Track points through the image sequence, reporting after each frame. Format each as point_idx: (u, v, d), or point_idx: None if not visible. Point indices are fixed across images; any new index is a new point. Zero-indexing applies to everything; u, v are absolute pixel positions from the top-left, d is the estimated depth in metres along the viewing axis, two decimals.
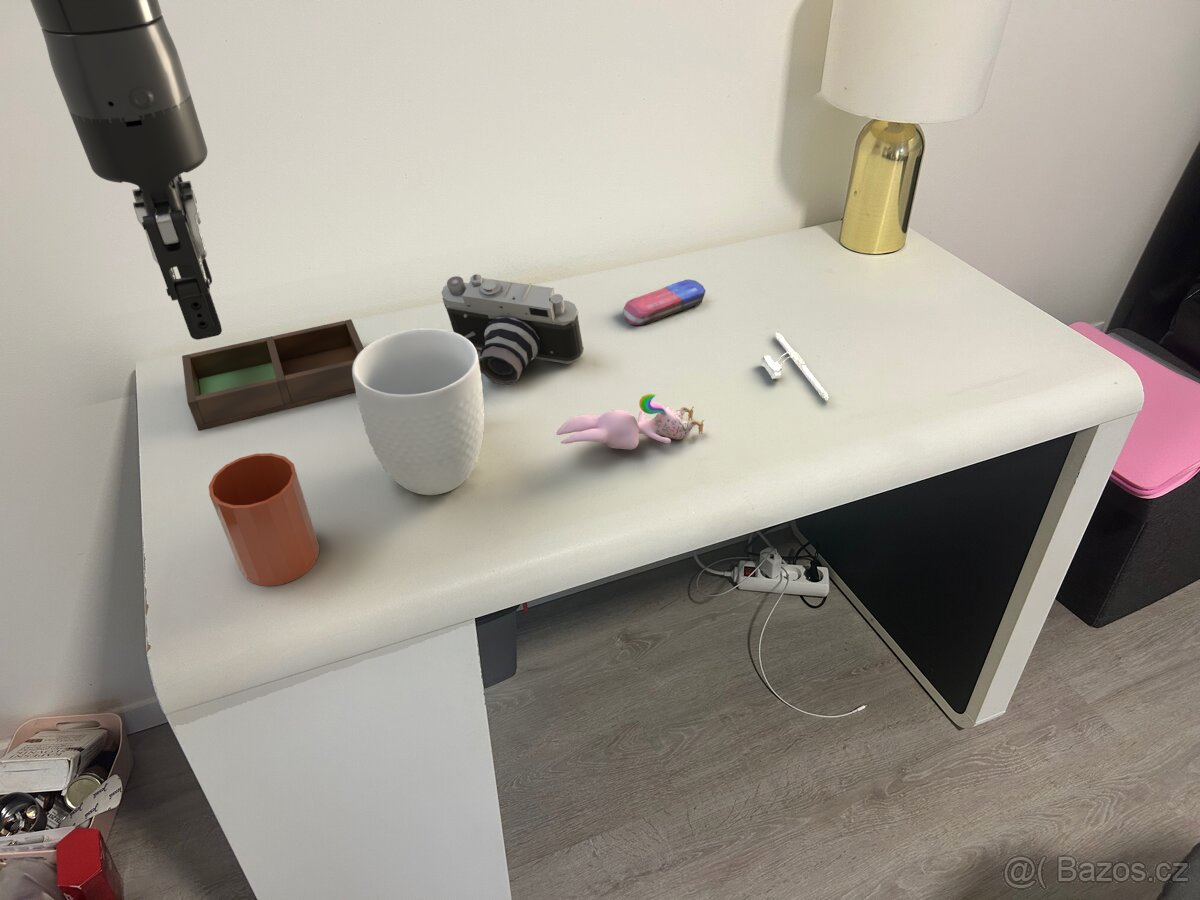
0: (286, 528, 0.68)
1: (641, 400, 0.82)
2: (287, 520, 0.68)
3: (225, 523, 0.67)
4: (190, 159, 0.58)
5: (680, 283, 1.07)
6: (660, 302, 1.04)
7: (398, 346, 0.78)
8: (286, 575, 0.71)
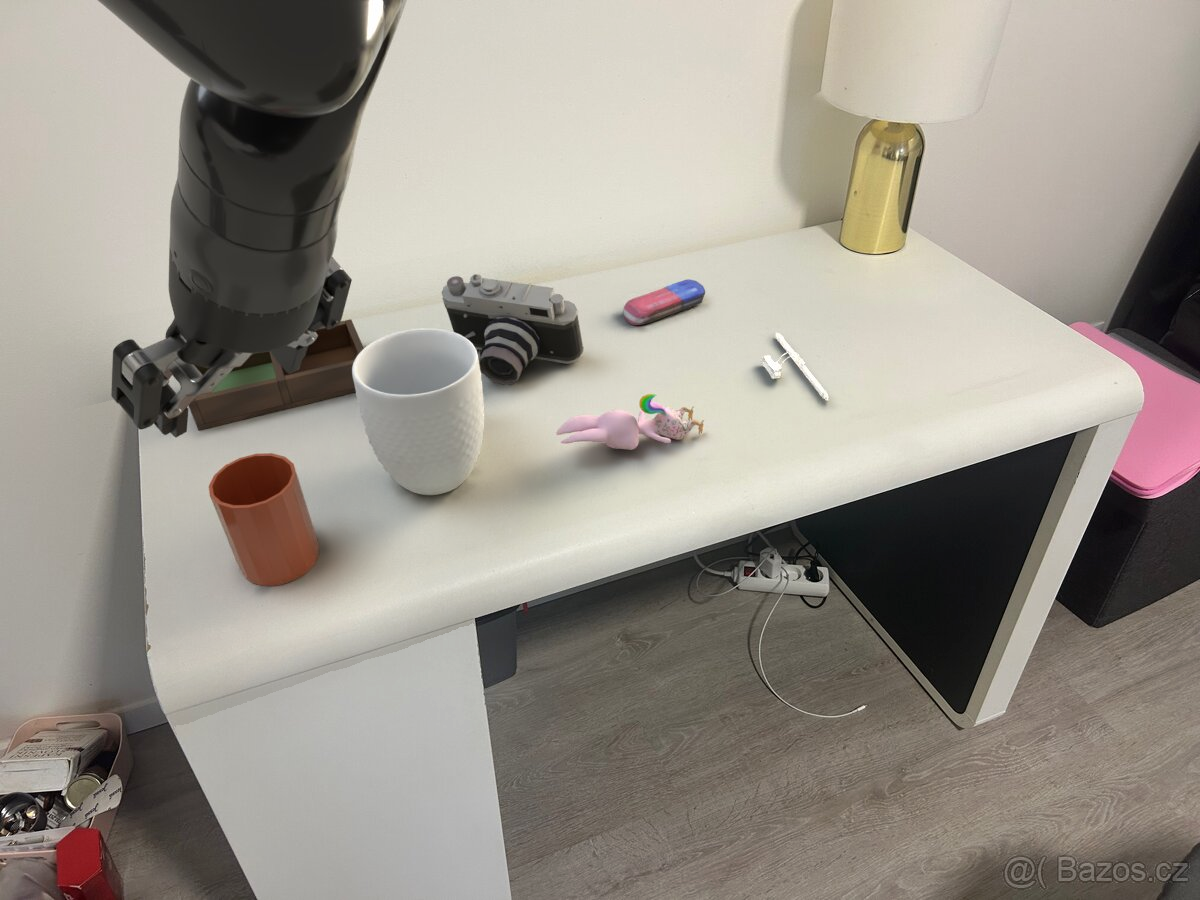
0: (286, 528, 0.68)
1: (641, 400, 0.82)
2: (287, 520, 0.68)
3: (225, 523, 0.67)
4: (232, 346, 0.44)
5: (680, 283, 1.07)
6: (660, 302, 1.04)
7: (398, 346, 0.78)
8: (286, 575, 0.71)
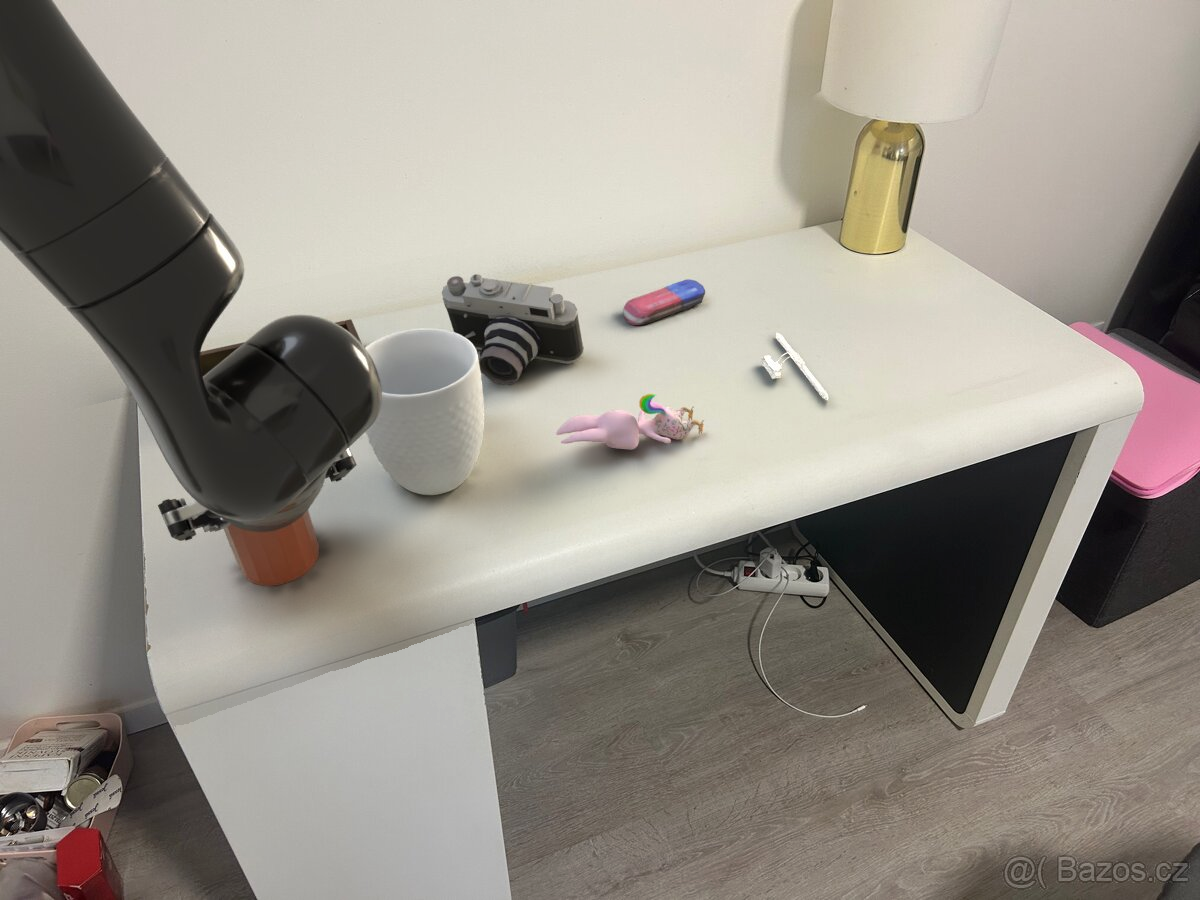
0: (286, 528, 0.68)
1: (641, 400, 0.82)
2: None
3: None
4: (238, 527, 0.58)
5: (680, 283, 1.07)
6: (660, 302, 1.04)
7: (398, 346, 0.78)
8: (286, 575, 0.71)
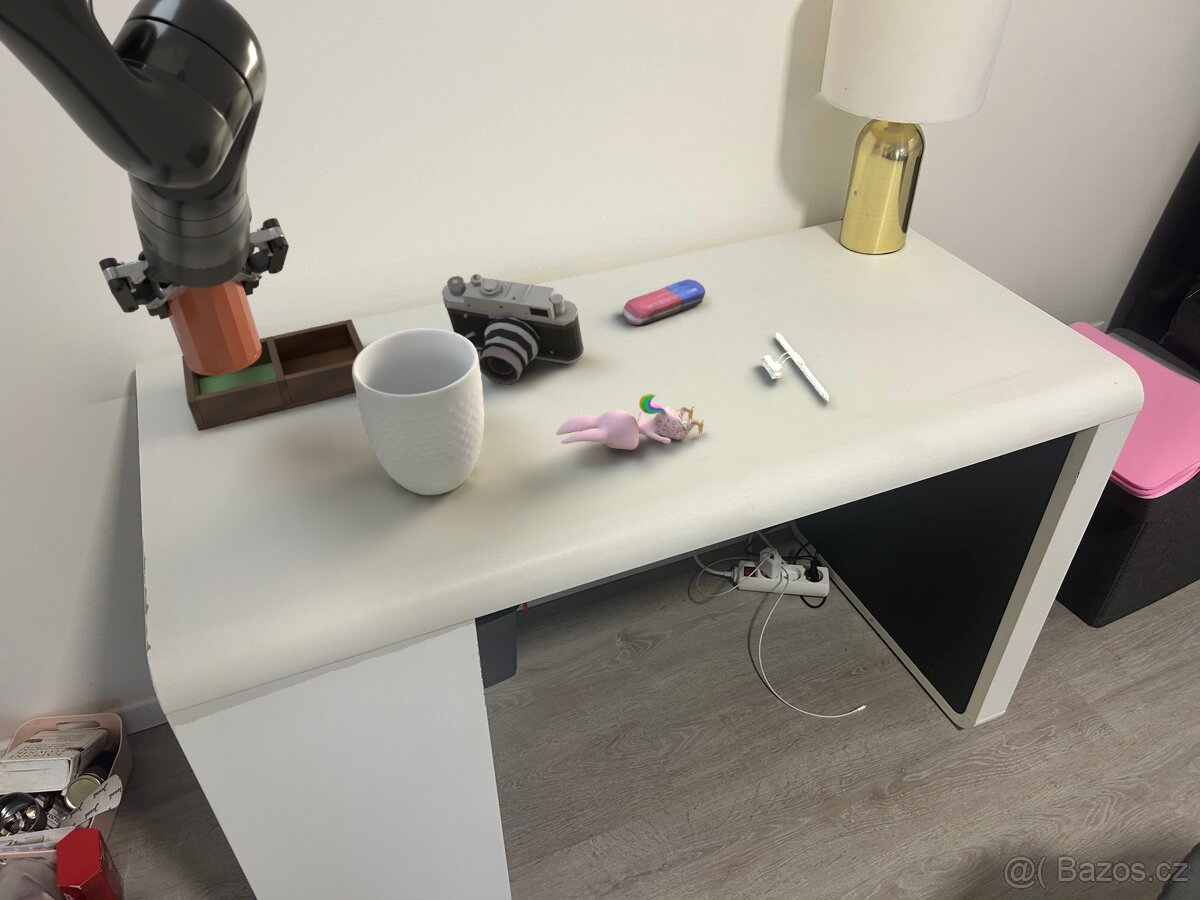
0: (226, 314, 0.73)
1: (641, 400, 0.82)
2: (227, 306, 0.73)
3: (169, 305, 0.72)
4: (172, 279, 0.63)
5: (680, 283, 1.07)
6: (660, 302, 1.04)
7: (398, 346, 0.78)
8: (228, 365, 0.76)
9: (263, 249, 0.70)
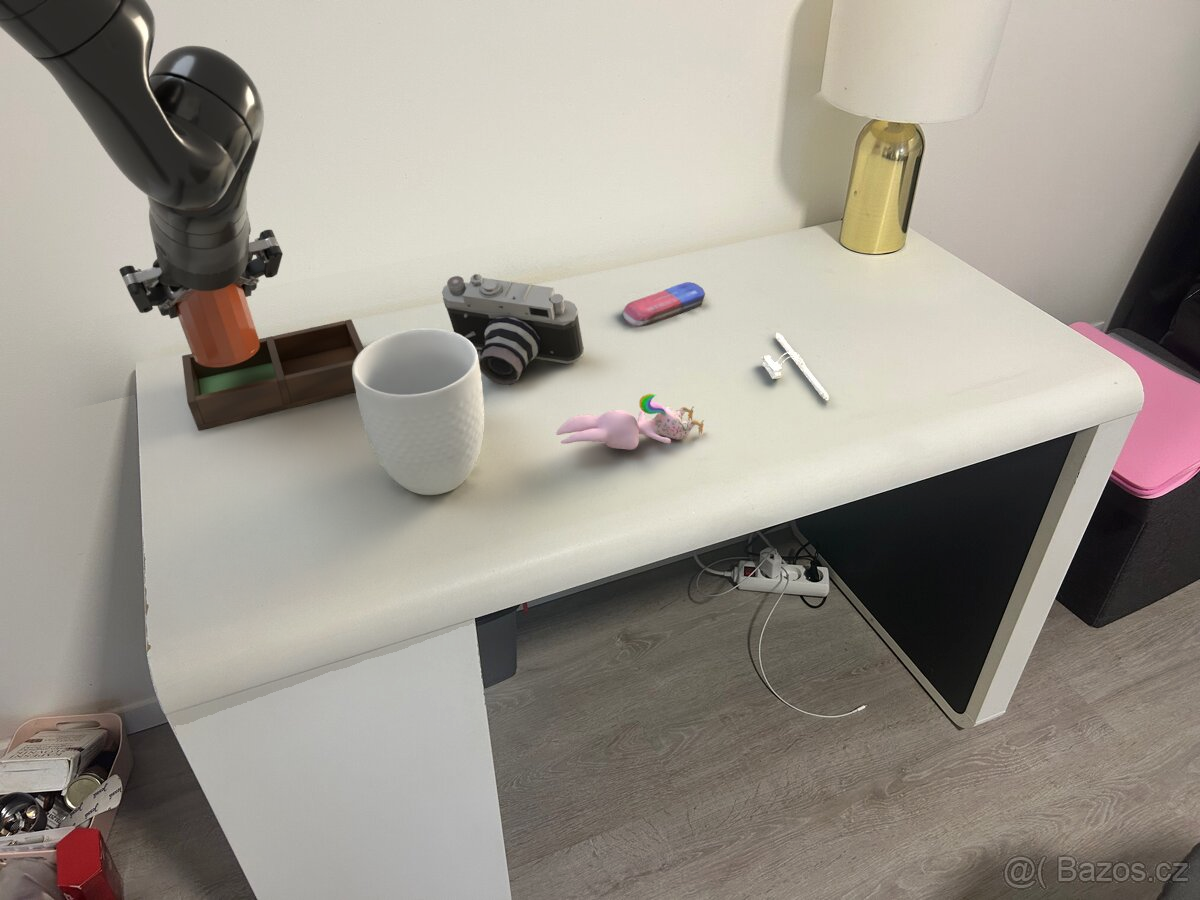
0: (228, 313, 0.84)
1: (641, 400, 0.82)
2: (229, 306, 0.83)
3: (178, 306, 0.83)
4: (182, 284, 0.74)
5: (680, 286, 1.07)
6: (660, 304, 1.04)
7: (398, 346, 0.78)
8: (230, 358, 0.86)
9: (260, 256, 0.81)
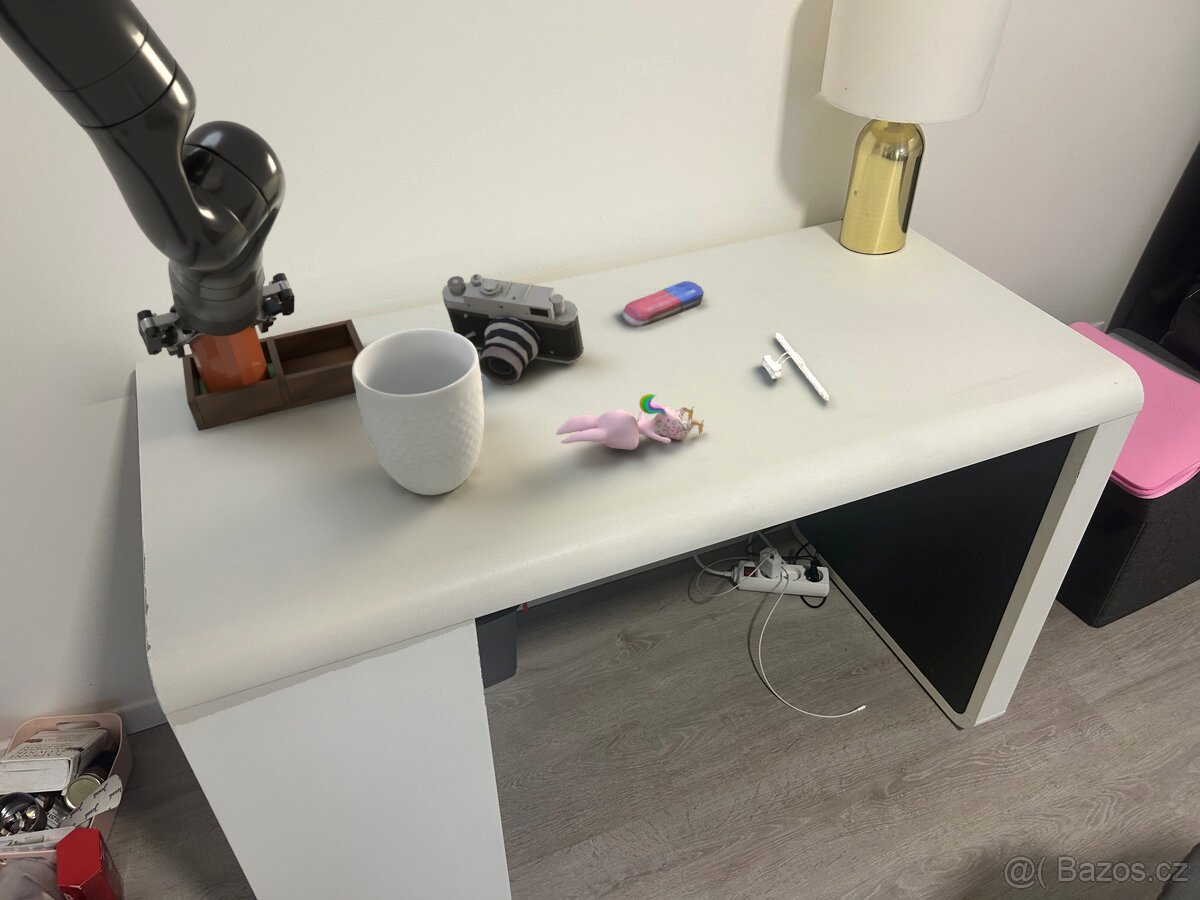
0: (242, 355, 0.87)
1: (641, 400, 0.82)
2: (243, 349, 0.86)
3: (194, 349, 0.86)
4: (198, 329, 0.77)
5: (678, 285, 1.07)
6: (659, 304, 1.04)
7: (398, 346, 0.78)
8: None
9: (274, 298, 0.84)
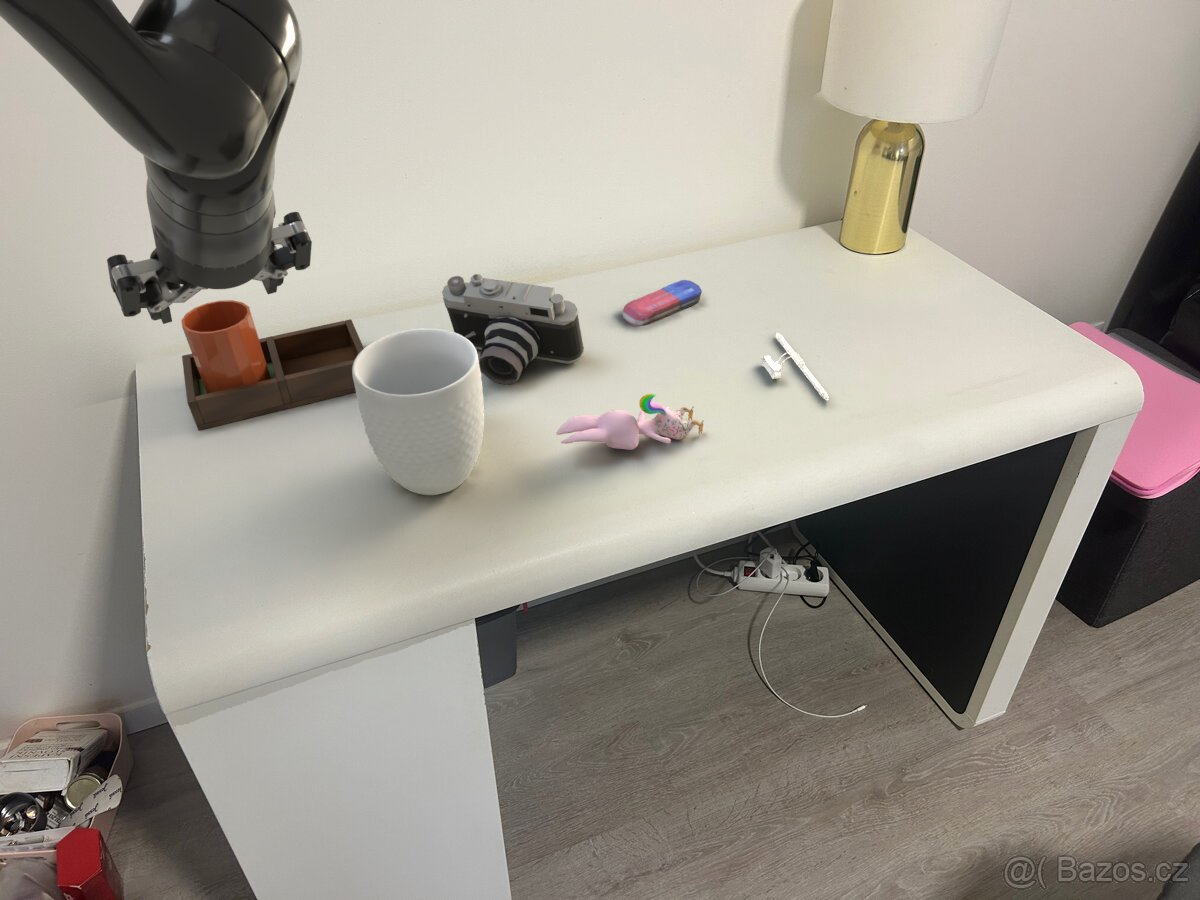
0: (242, 355, 0.87)
1: (641, 400, 0.82)
2: (243, 349, 0.86)
3: (194, 349, 0.86)
4: (188, 280, 0.58)
5: (676, 284, 1.08)
6: (659, 303, 1.04)
7: (398, 346, 0.78)
8: None
9: (285, 245, 0.65)
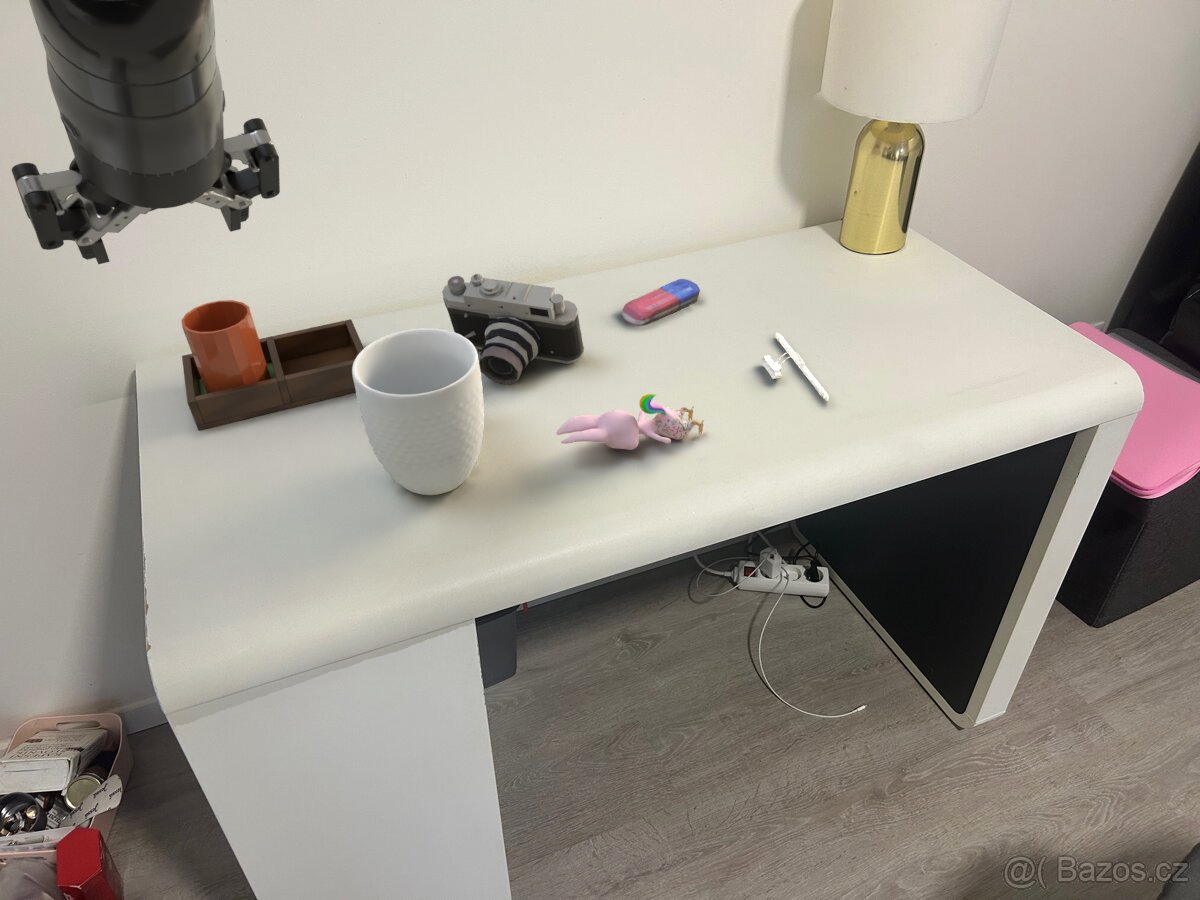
0: (242, 355, 0.87)
1: (641, 400, 0.82)
2: (243, 349, 0.86)
3: (194, 349, 0.86)
4: (114, 195, 0.45)
5: (674, 283, 1.08)
6: (658, 303, 1.04)
7: (398, 346, 0.78)
8: None
9: (247, 162, 0.52)
